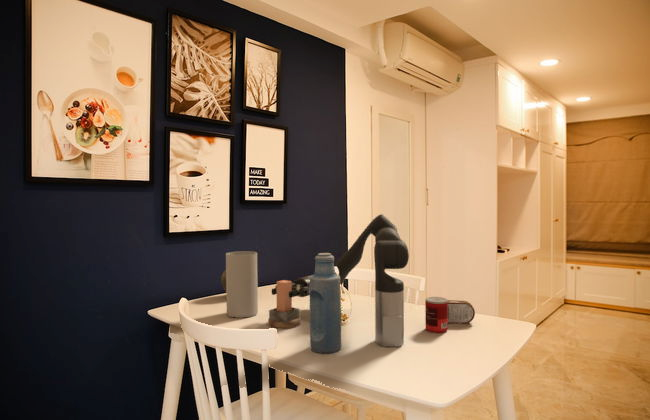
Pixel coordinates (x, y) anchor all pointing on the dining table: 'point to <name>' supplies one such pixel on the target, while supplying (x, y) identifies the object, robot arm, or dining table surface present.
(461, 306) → the tin
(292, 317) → the block holder stand
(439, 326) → the canned food
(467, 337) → the dining table surface
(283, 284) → the post
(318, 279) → the bottle
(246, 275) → the cylinder vase
